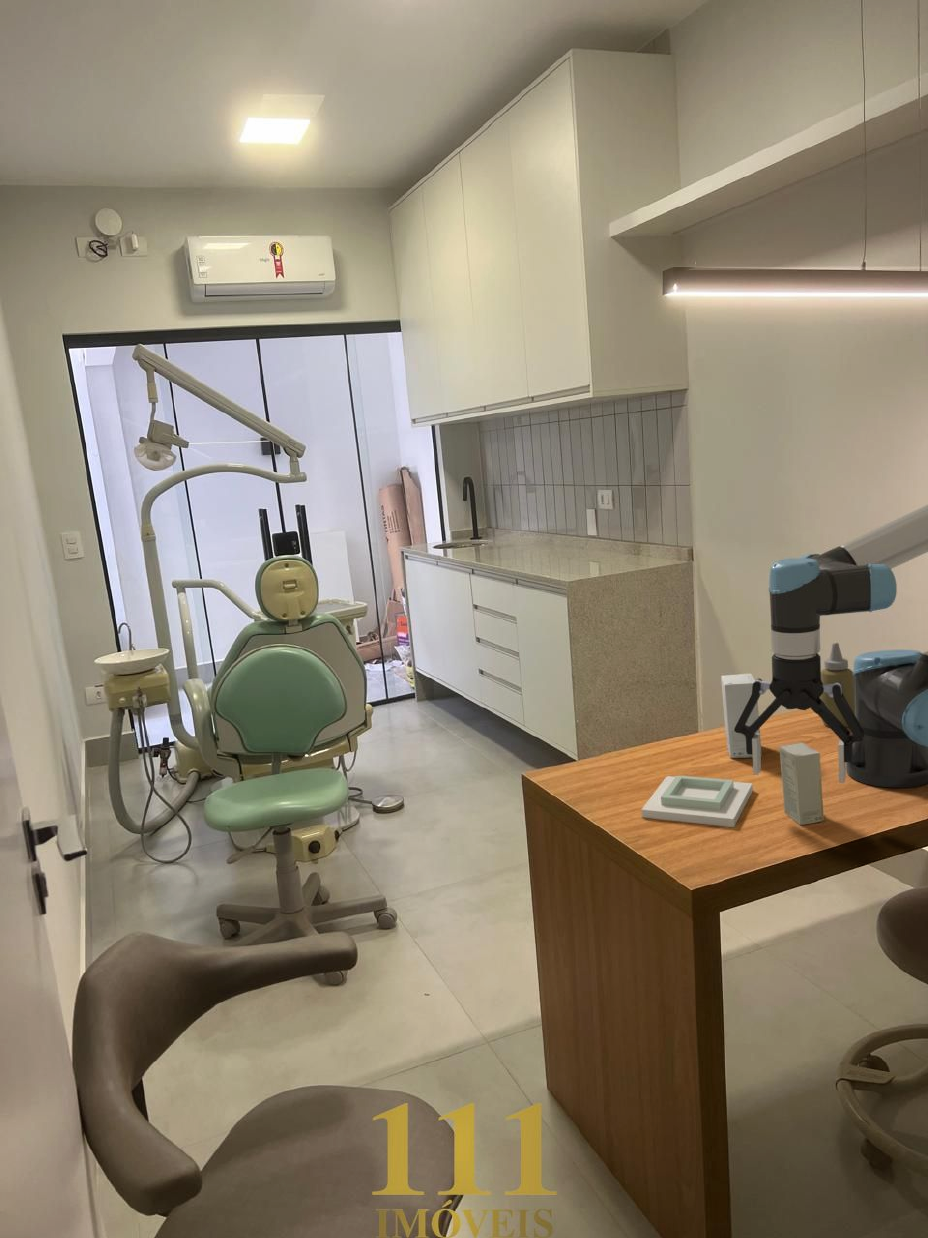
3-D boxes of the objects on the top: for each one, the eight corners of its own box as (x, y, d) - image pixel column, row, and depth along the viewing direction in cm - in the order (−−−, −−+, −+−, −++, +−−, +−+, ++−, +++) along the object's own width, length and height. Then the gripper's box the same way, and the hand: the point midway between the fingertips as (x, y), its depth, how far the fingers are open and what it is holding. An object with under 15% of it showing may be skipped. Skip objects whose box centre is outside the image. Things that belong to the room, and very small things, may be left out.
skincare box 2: (824, 822, 150) (822, 753, 147) (799, 826, 149) (796, 757, 147) (806, 807, 156) (803, 741, 153) (781, 811, 155) (778, 745, 153)
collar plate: (753, 791, 165) (752, 775, 164) (733, 827, 151) (732, 810, 151) (667, 783, 173) (666, 768, 172) (641, 817, 159) (640, 801, 159)
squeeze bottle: (826, 732, 190) (824, 650, 187) (812, 720, 198) (809, 641, 195) (865, 728, 190) (862, 645, 187) (848, 716, 198) (846, 637, 194)
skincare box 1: (761, 758, 180) (758, 683, 177) (727, 759, 182) (723, 685, 179) (757, 743, 188) (753, 672, 185) (724, 745, 190) (720, 674, 187)
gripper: (881, 650, 144) (882, 774, 148) (723, 646, 156) (728, 761, 160) (877, 662, 138) (878, 792, 142) (713, 656, 150) (718, 776, 154)
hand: (798, 776), depth 151 cm, fingers open, 13 cm apart
